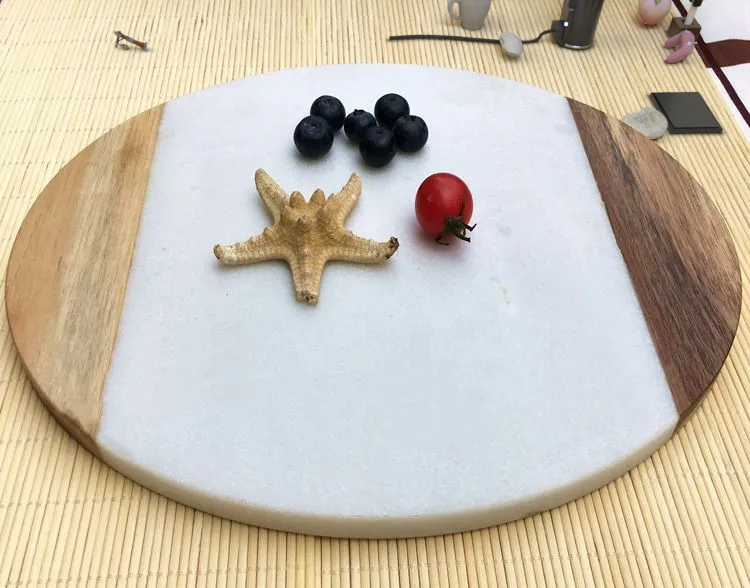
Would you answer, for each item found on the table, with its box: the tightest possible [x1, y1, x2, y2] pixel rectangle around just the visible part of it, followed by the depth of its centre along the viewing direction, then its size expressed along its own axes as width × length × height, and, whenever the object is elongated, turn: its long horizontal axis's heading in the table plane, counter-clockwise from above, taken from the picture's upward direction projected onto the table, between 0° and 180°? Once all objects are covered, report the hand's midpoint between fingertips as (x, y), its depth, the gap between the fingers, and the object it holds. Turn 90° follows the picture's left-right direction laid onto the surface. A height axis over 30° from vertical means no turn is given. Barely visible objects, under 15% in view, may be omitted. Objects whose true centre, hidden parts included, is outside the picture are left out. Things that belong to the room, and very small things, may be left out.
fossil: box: [620, 105, 668, 141], centre depth 154 cm, size 11×4×10 cm
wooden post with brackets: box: [113, 30, 148, 52], centre depth 171 cm, size 2×8×4 cm, turn 88°
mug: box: [446, 0, 492, 31], centre depth 180 cm, size 12×9×10 cm
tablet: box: [649, 91, 724, 135], centre depth 159 cm, size 12×16×1 cm
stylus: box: [684, 1, 699, 25], centre depth 176 cm, size 2×2×13 cm
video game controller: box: [663, 30, 696, 64], centre depth 174 cm, size 10×5×7 cm, turn 168°
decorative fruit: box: [637, 0, 673, 26], centre depth 182 cm, size 9×8×10 cm
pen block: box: [666, 16, 703, 44], centre depth 181 cm, size 6×6×4 cm
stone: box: [498, 31, 524, 58], centre depth 172 cm, size 10×5×5 cm, turn 15°
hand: (694, 3), depth 175 cm, fingers closed on stylus, 2 cm apart
